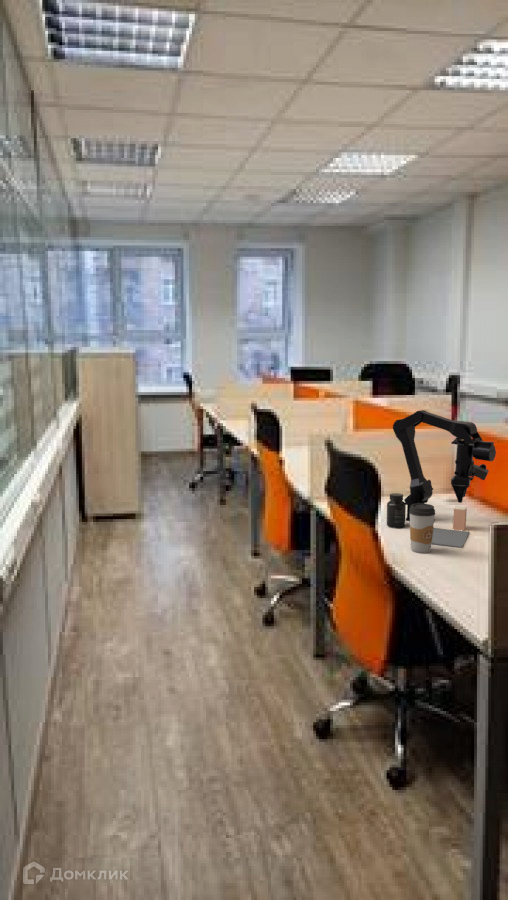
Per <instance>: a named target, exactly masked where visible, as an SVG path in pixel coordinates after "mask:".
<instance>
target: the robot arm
mask: <svg viewBox="0 0 508 900" xmlns="http://www.w3.org/2000/svg"><path fill="white" fill-rule="evenodd" d="M421 423H423V424H426V425H430V426H432V427H435V428H438V429H440V430H444V431H447V432H448V433H450V434H451V435H452V436H453V437H455V439H454V440H453V441H451V442H450V443H451V445H456V455H455V460H454V462H455V463H454V464H455V470H454V475H453V476H452V477H451V479H450V485H451V487H452V489H453V491H454V495H455V496H456V499H457V502H458V503H460V504H461V503H462V502H463V499H464V498H465V497H466V493H467V490H468V488H469V487H470V486H471V482H472V481H473V480H474V477H476V478H478V479H480V480H482V481H485V480H486V478H487V475H488V474H489V471H490V470H489V469H487V464H484V463H481V464H480V465H477V464H475V460H478V461H487V462H494V460H495V458H496V454H497V451H496V446H495V445H494V444H495V442H494V441H487V440H486V441H484V440H483V438H482V437H481V434H480V433H479V431H478V427H477V426H476V424H475V423H474V422H472V421H466V420H465V421H463V420H454V419H450V418H449V417H444V416H441V415H438V414H435V413H431V412H430V411H427V410H424V409H421V410H417V411H415V412H413V413H412V414H410V415H408V416H406V417H404V418H400V419H395V421H394V422H393V424H392V429H393V432H394V435H395V437H396V438H397V440H398V441H399V442H400V444H401V447H402V450H403V453H404V454H403V455H404V458H405V461H406V465H407V469H408V473H409V477H410V484H409V491H410V492H409V493H410V494H409V495H408V496H407V497H405V498H403V502H405V504H406V509H407V510H406V517H405V521H409V522H410V513H409V511H410V508H411V505H412V504H417V503H423V504H428V501H429V500H430V499H431V498H432V496H433V491H434V488H433V485H432V481H431V479H427V478H426V477H425V476H424V473H423V469H422V465H421V462H420V457H419V454H418V450H417V445H416V442H415V437H416V427H417V426H419V425H420V424H421ZM474 459H475V460H474Z"/></svg>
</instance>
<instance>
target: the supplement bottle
mask: <svg viewBox="0 0 508 900" xmlns="http://www.w3.org/2000/svg"><path fill="white" fill-rule="evenodd" d="M406 509H407V505H406V504H405V501H404V494H403V493H396V492H395V493H390V494H389V501H388V502H387V503H386V526H387V527H389V528H391V529H401V528H405V526H406V515H407V510H406Z"/></svg>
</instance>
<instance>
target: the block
mask: <svg viewBox="0 0 508 900" xmlns="http://www.w3.org/2000/svg"><path fill="white" fill-rule="evenodd" d="M467 507H468V506H463V505H455V506H454V508H453V517H452V520H453V522H452V530H453V529H454V530H458V531H461V530H462V531H465V530H466V528H467V514H468V513H467V511H468V510H467V509H468V508H467Z"/></svg>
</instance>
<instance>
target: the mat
mask: <svg viewBox="0 0 508 900" xmlns="http://www.w3.org/2000/svg"><path fill="white" fill-rule="evenodd" d="M469 535H470V531H465V530H464V531H461V530H453V529H448V528H441V527H440V528H439V527H434V528H433V537H432V543H431V545H435V546H444V547H449V548H458V549H462V548H463V546H464V544H465V543H466V540H467V538H468V537H469Z"/></svg>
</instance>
